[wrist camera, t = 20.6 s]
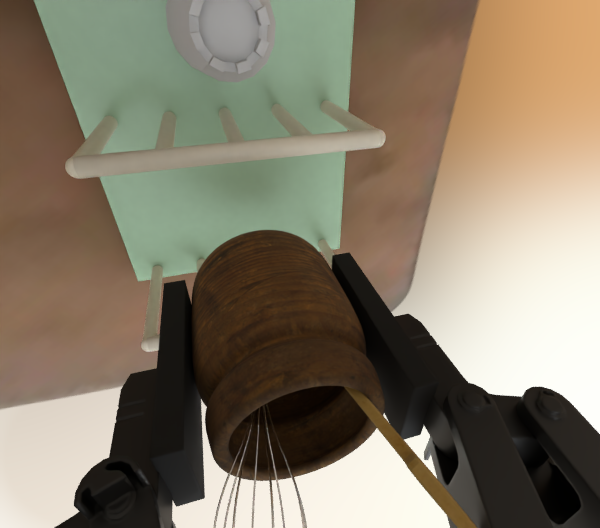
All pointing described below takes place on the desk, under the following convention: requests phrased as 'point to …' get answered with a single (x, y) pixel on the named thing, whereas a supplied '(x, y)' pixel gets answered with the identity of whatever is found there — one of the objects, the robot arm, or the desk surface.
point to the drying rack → (208, 131)
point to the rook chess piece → (222, 35)
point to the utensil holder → (286, 367)
